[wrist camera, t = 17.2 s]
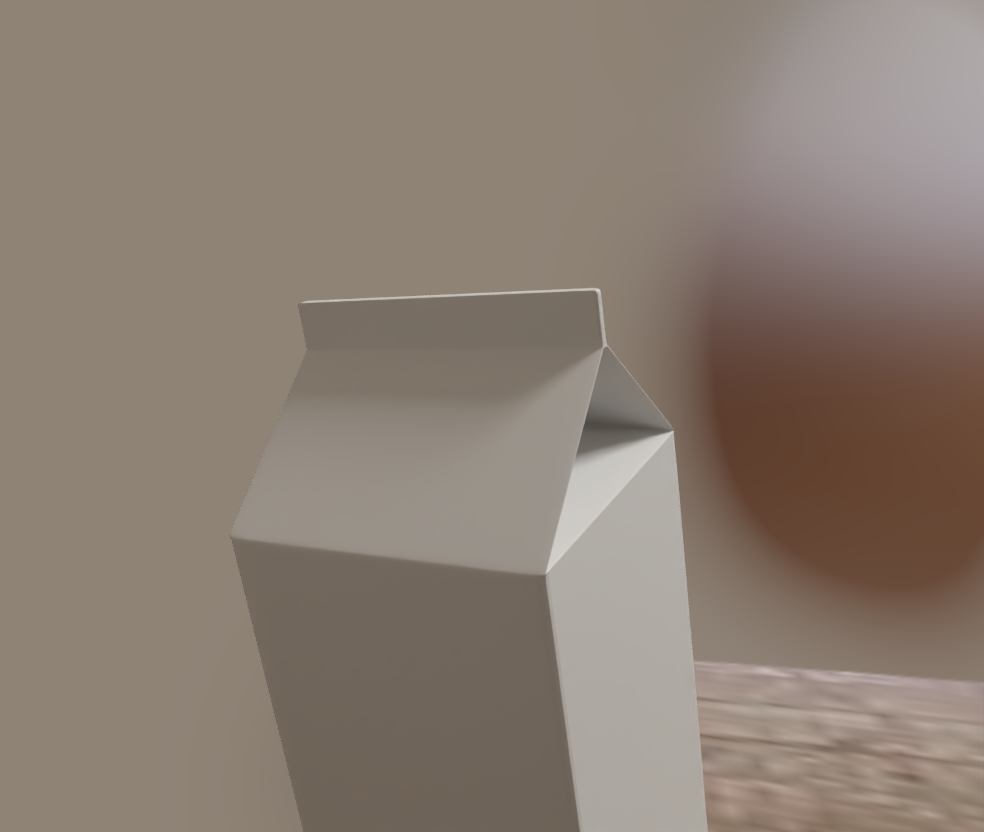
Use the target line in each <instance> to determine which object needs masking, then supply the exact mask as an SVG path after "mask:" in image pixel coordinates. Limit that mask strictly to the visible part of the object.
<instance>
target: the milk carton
mask: <svg viewBox="0 0 984 832" xmlns="http://www.w3.org/2000/svg"><path fill="white" fill-rule="evenodd" d="M298 308H299V313H300V318H301V323H302V327H303V332H304V337H305V342H306V347H307V351H306V354H305V356H304V359H303V361H302V363H301V366H300V368H299V370H298V373H297V375H296V378H295V380H294V382H293V385H292V387H291V389H290V392H289V394H288V396H287V399H286V402H285V404H284V406H283V409H282V411H281V413H280V415H279V418H278V420H277V423H276V425H275V427H274V430H273V432H272V435H271V437H270V439H269V442H268V444H267V446H266V449H265V451H264V453H263V456H262V458H261V461H260V463H259V465H258V468H257V470H256V472H255V475H254V477H253V480H252V482H251V484H250V487H249V489H248V491H247V494H246V496H245V499H244V501H243V503H242V506H241V508H240V510H239V513H238V515H237V518H236V520H235V522H234V525H233V527H232V530H231V532H230V535H229V536H230V538H231V540H232V543H233V547H234V551H235V555H236V560H237V563H238V568H239V572H240V576H241V579H242V584H243V588H244V592H245V595H246V600H247V604H248V608H249V612H250V616H251V620H252V624H253V628H254V633H255V636H256V641H257V645H258V649H259V653H260V657H261V661H262V665H263V669H264V673H265V677H266V681H267V685H268V689H269V693H270V697H271V702H272V706H273V710H274V713H275V718H276V721H277V726H278V730H279V734H280V738H281V742H282V746H283V750H284V754H285V758H286V762H287V766H288V770H289V774H290V778H291V783H292V787H293V791H294V794H295V799H296V803H297V807H298V811H299V815H300V819H301V823H302V827H303V831H304V832H708V831H707V819H706V807H705V795H704V783H703V771H702V760H701V748H700V736H699V724H698V712H697V700H696V689H695V677H694V665H693V653H692V641H691V629H690V618H689V607H688V594H687V582H686V571H685V560H684V559H685V558H684V546H683V534H682V523H681V511H680V499H679V487H678V476H677V465H676V455H675V446H674V435H673V433H674V430H673V428H672V426H671V425H670V423H669V422H668V421H667V420H666V418H665V417H664V416H663V415H662V413H661V412H660V411H659V410H658V408H657V407H656V406H655V405H654V403H653V402H652V401H651V400H650V398H649V397H648V396H647V395H646V393H645V392H644V391H643V389H642V388H641V387H640V386H639V385H638V383H637V382H636V381H635V379H634V378H633V377H632V376H631V374H630V373H629V372H628V371H627V369H626V368H625V367H624V366H623V364H622V363H621V362H620V361H619V359H618V358H617V357H616V356H615V354H614V353H613V352H612V351H611V349H610V348H609V347H608V346H607V344H606V337H605V328H604V318H603V309H602V299H601V291H600V290H599V289H598V288H583V289H562V290H539V291H517V292H496V293H495V292H494V293H474V294H451V295H428V296H406V297H383V298H364V299H362V298H361V299H339V300H318V301H305V302H302V303H299V304H298Z"/></svg>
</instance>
